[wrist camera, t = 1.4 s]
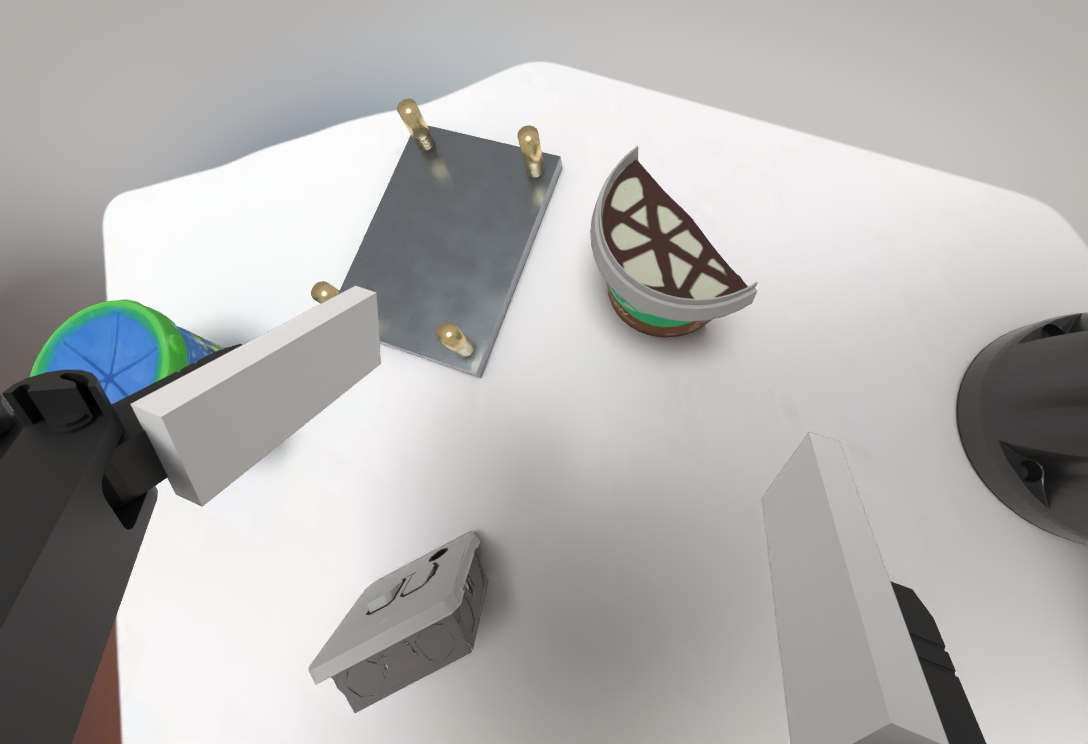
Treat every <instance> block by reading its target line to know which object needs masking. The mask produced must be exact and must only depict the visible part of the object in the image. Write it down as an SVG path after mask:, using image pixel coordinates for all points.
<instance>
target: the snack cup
mask: <svg viewBox="0 0 1088 744" xmlns="http://www.w3.org/2000/svg"><path fill="white" fill-rule="evenodd" d="M221 349H223V348H221V347H219V346H217V345H215V344H213V343H211V342H209V341H207V340H205V339H203V338H201V337H199V336H197V335H195V334H193V333H191V332H189V331H187V330H185V329H183V328H180V327H178V326H176V325H175V323H174V322H173V321H171V320H170V319H169V318H168V317H166V316H165V315H163V314H162V313H160V312H158V311H156V310H154V309H152V308H149V307H146V306H143V305H142V304H140V303H138V302H136V301H132V300H118V301H107V302H102V303H98V304H95V305H92V306H90V307H88V308H85V309H83V310H81V311H80V312H78V313H76V314H75V315H73V316H72V317H71V318H69V319H68V320H67V321H66V322H64V323H63V324H62V325H61V326H60V327H59V328H58V329H57V330H56V331H55V332H54V333H53V335H52V336H51V337H50V339H49V340H48V341H47V343H46V344H45V345H44V347H43V348H42V350H41V352H40V353H39V355H38V357H37V360H36V361H35V364H34V366H33V369H32V372H31V375H30V377H32V376H35V375H39V374H42V373H46V372H51V371H58V370H65V369H67V370H84V371H87V372H91V373H93V374H94V375H95V376H96V377H97V379H98V380H99V382H100V384H101V386H102V388H103V390H104V392H105V393H106V395H107V397H108V399H109V401H110V403H111V404H113V403H115V402H117V401H119V400H121V399H123V398H125V397H127V396H129V395H131V394H133V393H135V392H137V391H139V390H141V389H143V388H145V387H147V386H149V385H151V384H153V383H155V382H157V381H159V380H161V379H162V378H164V377H166V376H168V375H170V374H172V373H174V372H180V370H181V369H182V368H184V367H186V366H188V365H190V364H192V363H194V364H196V363H197V361H198V360H200V359H202V358H204V357H206V356H208V355H210V354H212V353H213V352H215V351H218V350H221Z"/></svg>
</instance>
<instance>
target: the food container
mask: <svg viewBox="0 0 1088 744" xmlns="http://www.w3.org/2000/svg"><path fill="white" fill-rule="evenodd" d="M590 232H591V246H592V250H593V254H594V258H595V261H596V263H597V265H598V268H599V270H600V272H601V273H602V275H603V276H604V278H605V279H606V281H607V288H608V295H609V298H610V300H611V303H612V306H613V308H614V309H615V311H616V313H617V314H618V315H619V316H620V318H621V319H622V320H623V321H624V322H625V323H627V324H628V325H629V326H631V327H632V328H634V329H636V330H637V331H639V332H642V333H645V334H647V335H652V336H657V337H675V336H680V335H685V334H688V333H690V332H693V331H695V330H697V329H699V328H701V327H702V326H704V325H706V324H707V323H708V322H710V321H711V320H712V319H715V318H719V317H724V316H726V315H729V314H731V313H734V312H737V311H739V310H741V309H743V308H744V307H746V306H748V305H750V304H751V303H752V302H753V300H754V297H755V295H756V292H757V290H756V289H755V287H756V285H757V284H758V282H756V283H754V284H752V285H750V286H749V287H748V286H747V285H746V284H745V283H744V282H743V280H742V278H741V277H740V276H739V275H737V274H736V273H735V272H734V271H733V270H732V269H731V268H730V267H729V265H728V264H727V263H726V262H725V261H724V259H723V258H722V257H721V256H720V255H719V254H718V252H717V251H716V250H715V248H714V247H713V246H712V245H711V243H710V242H709V241H708V239H707V238H706V237H705V235H704V234H703V232H702V231H701V230H700V228H699V227H698V226H697V225H696V223H695V222H694V221H693V219H692V218H691V217H690V216H689V215H688V214H687V213H686V212H685V211H684V210H683V209H682V208H681V207H680V206H679V205H678V204H677V203H676V202H675V201H674V200H673V199H672V198H671V197H670V196H669V195H668V194H667V193H666V192H665V191H664V190H663V189H662V188H661V187H660V186H659V185H658V183H657V182H656V181H655V180H654V179H653V178H652V177H651V175H650V174H649V173H648V172H647V171H646V170H645V169H644V167H643V166H642V165H641V164H640V163H639V162H638V146H637V147H636V148H634V149H633V150H632V151H630V152H629V153H628V154H627V155H626V156H625V157H624V158H623V159H622V160H621V161H620V162H619V163H618V164H617V166H616V167H615V168H614V169H613V171H612V172H611V174H610V175H609V177H608V178H607V179H606V181H605V183H604V185H603V187H602V189H601V191H600V194H599V197H598V200H597V202H596V205H595V209H594V212H593V216H592V222H591V231H590Z"/></svg>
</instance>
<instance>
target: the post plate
mask: <svg viewBox="0 0 1088 744" xmlns="http://www.w3.org/2000/svg"><path fill="white" fill-rule="evenodd" d="M397 111H398V113H399V114H400V116H401V118H402V120H403V122H404V123H405V125H406V127H407V129H408V130H409V132H410V134H411V136H410V138H409V140H408V142H407V145H406V147H405V149H404V151H403V153H402V155H401V158H400V160H399V162H398V164H397V166H396V169H395V171H394V173H393V175H392V177H391V180H390V182H389V184H388V186H387V188H386V190H385V193H384V195H383V197H382V199H381V201H380V204H379V206H378V208H377V210H376V212H375V215H374V217H373V219H372V221H371V223H370V226H369V228H368V230H367V232H366V234H365V236H364V239H363V241H362V243H361V245H360V247H359V250H358V252H357V254H356V256H355V258H354V261H353V263H352V265H351V267H350V269H349V271H348V274H347V276H346V278H345V280H344V282H343V285H342V287H341V289H340V291H339V290H338V289H336V288H335V287H333V286H332V285H330V284H329V283H327V282H324V281H322V282H318V283H317V284H315V285H314V287H313V288H312V291H311V295H312V298H313V299H314V300H316V301H317V302H319V303H321V304H322V303H324V302H326V301H327V300H329V299H331V298H333V297H335V296H337V295H339V294H341V293H343V292H345V291H346V290H348V289H350V288H352V287H354V286H358V287H361V288H364V289H367V290H370V291H373V292H376V295H377V310H378V326H379V341H380V343H381V344H384V345H387V346H390V347H393V348H396V349H399V350H402V351H405V352H408V353H411V354H413V355H416V356H419V357H422V358H425V359H428V360H431V361H434V362H437V363H440V364H442V365H445V366H448V367H451V368H454V369H457V370H460V371H463V372H466V373H469V374H472V375H474V376H477V377H480V378H481V376H482V373H483V370H484V368H485V365H486V363H487V360H488V357H489V355H490V352H491V350H492V347H493V345H494V342H495V339H496V337H497V334H498V332H499V329H500V327H501V324H502V321H503V319H504V316H505V314H506V311H507V308H508V306H509V303H510V301H511V298H512V296H513V293H514V290H515V288H516V285H517V283H518V280H519V278H520V275H521V272H522V270H523V267H524V265H525V262H526V259H527V257H528V254H529V252H530V249H531V247H532V244H533V241H534V239H535V236H536V234H537V231H538V228H539V226H540V223H541V221H542V218H543V216H544V213H545V210H546V208H547V205H548V203H549V200H550V198H551V195H552V192H553V190H554V187H555V185H556V182H557V179H558V177H559V174H560V172H561V169H562V165H561V157H560V156H556V155H552V154H548V153H543V152H542V151H541V146H540V140H539V135H538V131H537V129H536V128H535V127H533V126H524V127H522V128H521V129H520V130H519V132H518V140H519V145H520V147H517V146H513V145H509V144H505V143H500V142H496V141H492V140H487V139H483V138H479V137H475V136H470V135H466V134H462V133H457V132H453V131H449V130H444V129H440V128H436V127H432V126H427V125H426V123H425V121H424V119H423V117H422V115H421V113H420V111H419V109H418V107H417V105H416V103H415V101H414V100H412V99H405V100H402V101H401V102H400V103H399V105H398V107H397Z"/></svg>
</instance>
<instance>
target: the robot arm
mask: <svg viewBox="0 0 1088 744" xmlns="http://www.w3.org/2000/svg"><path fill="white" fill-rule="evenodd" d="M380 364H381V357H380V341H379V326H378V310H377V295H376V292H373V291H370V290H367V289H364V288H361V287H358V286H354V287H352V288H350V289H348V290H346V291H345V292H343V293H341V294H339V295H337V296H335V297H333V298H331V299H329V300H327V301H326V302H324V303H322V304H320V305H318V306H316V307H314V308H312V309H310V310H308V311H307V312H305V313H303V314H301V315H299V316H297V317H295V318H293V319H291V320H289V321H288V322H286V323H284V324H282V325H280V326H278V327H276V328H274V329H272V330H270V331H268V332H267V333H265V334H263V335H261V336H259V337H257V338H255V339H253V340H251V341H249V342H248V343H246V344H244V345H242V344H239V345H236V346H232V347H228V348H225V349H221V350H218V351H215V352H213V353H212V354H210V355H208V356H206V357H204V358H202V359H200V360H198V361H197V363H196V364H194V363H192V364H190V365H188V366H186V367H184V368H182V369H181V370H180V372H174V373H172V374H170V375H168V376H166V377H164V378H162V379H161V380H159V381H157V382H155V383H153V384H151V385H149V386H147V387H145V388H143V389H141V390H139V391H137V392H135V393H133V394H131V395H129V396H127V397H125V398H123V399H121V400H119V401H117V402H115V403H113V404H111V403H110V401H109V399H108V397H107V395H106V393H105V392H104V390H103V388H102V386H101V384H100V382H99V380H98V379H97V377H96V376H95V375H94V374H93V373H91V372H87V371H84V370H67V369H65V370H58V371H51V372H46V373H42V374H39V375H35V376H32V377H29V378H27V379H24V380H22V381H21V382H18V383H16V384H14V385H12V386H11V387H10V388H8V389H7V390H6V391H5V392H3V393H2V394H3V396H4V397H5V398H6V400H7V401H8V402H9V404H10V405H11V407H12V408H13V410H14V411H12V410H11V409H10V407H9V406H8V404H7V403H6V402H5V400H4V399H3V397H2V396H0V744H72V741H73V738H74V735H75V732H76V729H77V727H78V724H79V721H80V718H81V715H82V712H83V709H84V707H85V703H86V701H87V698H88V695H89V692H90V689H91V686H92V684H93V681H94V678H95V675H96V672H97V669H98V666H99V664H100V661H101V658H102V655H103V652H104V649H105V646H106V644H107V641H108V638H109V635H110V632H111V629H112V626H113V624H114V621H115V618H116V615H117V612H118V609H119V606H120V604H121V601H122V598H123V595H124V592H125V589H126V586H127V584H128V581H129V578H130V575H131V572H132V569H133V566H134V564H135V561H136V558H137V555H138V552H139V549H140V546H141V544H142V541H143V538H144V535H145V532H146V529H147V526H148V523H149V521H150V518H151V515H152V512H153V509H154V506H155V503H156V501H157V494H158V490H157V488H156V485H157V484H158V483H160V482H161V481H163V480H164V479H166V478H168V480H169V482H170V484H171V486H172V488H173V490H174V492H175V494H176V495H178V496H180V497H183V498H185V499H187V500H189V501H191V502H194V503H196V504H198V505H200V506H204V505H205V504H206V503H207V502H209V501H210V500H211V499H212V498H214V497H215V496H216V495H217V494H219V493H220V492H221V491H222V490H224V489H225V488H226V487H227V486H229V485H230V484H231V483H232V482H234V481H235V480H236V479H237V478H239V477H240V476H241V475H242V474H244V473H245V472H246V471H247V470H249V469H250V468H251V467H252V466H254V465H255V464H256V463H257V462H259V461H260V460H261V459H262V458H264V457H265V456H266V455H267V454H269V453H270V452H271V451H272V450H274V449H275V448H276V447H277V446H279V445H280V444H281V443H282V442H284V441H285V440H286V439H287V438H289V437H290V436H291V435H292V434H294V433H295V432H296V431H297V430H299V429H300V428H301V427H302V426H304V425H305V424H306V423H307V422H309V421H310V420H311V419H312V418H314V417H315V416H316V415H317V414H319V413H320V412H321V411H322V410H324V409H325V408H326V407H327V406H329V405H330V404H331V403H332V402H334V401H335V400H336V399H337V398H339V397H340V396H341V395H342V394H344V393H345V392H346V391H347V390H349V389H350V388H351V387H352V386H354V385H355V384H356V383H357V382H359V381H360V380H361V379H362V378H364V377H365V376H366V375H367V374H369V373H370V372H371V371H372V370H374V369H375V368H376V367H377V366H379V365H380ZM958 421H959V428H960V433H961V437H962V441H963V443H964V446H965V449H966V451H967V454H968V456H969V458H970V460H971V462H972V464H973V466H974V467H975V469H976V471H977V472H978V474H979V475H980V477H981V478H982V479H983V481H984V482H985V483H986V484H987V486H988V487H989V488H990V489H991V490H992V491H993V493H994V494H995V495H996V496H997V497H998V498H999V499H1000V500H1001V501H1002V502H1003V503H1005V504H1006V505H1007V506H1008V507H1009V508H1011V509H1012V510H1013V511H1014V512H1016V513H1017V514H1018V515H1020V516H1021V517H1023V518H1024V519H1026V520H1027V521H1029V522H1031V523H1032V524H1034V525H1036V526H1038V527H1040V528H1042V529H1043V530H1045V531H1048V532H1050V533H1052V534H1055V535H1057V536H1060V537H1062V538H1065V539H1068V540H1072V541H1075V542H1079V543H1083V544H1088V313H1077V314H1070V315H1064V316H1059V317H1055V318H1051V319H1048V320H1044V321H1041V322H1038V323H1035V324H1032V325H1029V326H1026V327H1022V328H1019V329H1017V330H1014V331H1012V332H1009V333H1007V334H1005V335H1003V336H1002V337H1000V338H998V339H997V340H995V341H994V342H992V343H991V344H990V345H988V346H987V347H986V348H985V349H984V350H983V351H982V352H981V353H980V354H979V355H978V356H977V357H976V359H975V360H974V361H973V363H972V364H971V366H970V367H969V369H968V371H967V373H966V375H965V377H964V380H963V383H962V385H961V389H960V393H959V400H958ZM762 504H763V512H764V521H765V529H766V538H767V546H768V555H769V563H770V572H771V580H772V589H773V597H774V606H775V614H776V623H777V631H778V640H779V648H780V657H781V665H782V674H783V682H784V691H785V699H786V708H787V716H788V725H789V733H790V742H791V744H986V742H985V740H984V737H983V735H982V732H981V730H980V728H979V725H978V723H977V721H976V718H975V716H974V713H973V711H972V709H971V706H970V704H969V702H968V699H967V697H966V694H965V692H964V690H963V687H962V685H961V682H960V680H959V678H958V677H956V676H955V668H954V666H953V663H952V661H951V659H950V656H949V654H948V652H945V650H944V649H945V644H944V642H943V640H942V637H941V635H940V632H939V630H938V628H937V625H936V623H935V621H934V618H933V617H932V615H931V614H930V613H929V611H928V610H927V609H926V607H925V606H924V605H923V603H922V602H921V601H920V599H919V598H918V597H917V595H916V594H915V593H914V591H913V590H912V589H910V588H907V587H904V586H901V585H899V584H896V583H893V582H891V581H890V580H889V577H888V574H887V571H886V569H885V566H884V563H883V560H882V558H881V555H880V552H879V549H878V547H877V544H876V541H875V538H874V536H873V533H872V530H871V527H870V524H869V522H868V519H867V516H866V513H865V511H864V508H863V505H862V502H861V500H860V497H859V494H858V491H857V489H856V486H855V483H854V480H853V478H852V475H851V472H850V469H849V466H848V464H847V461H846V458H845V455H844V453H843V450H842V447H841V444H840V442H839V441H836V440H833V439H830V438H827V437H824V436H821V435H817V434H814V433H811V432H808V434H807V435H806V437H805V438H804V440H803V441H802V442H801V444H800V445H799V447H798V448H797V449H796V451H795V452H794V454H793V455H792V456H791V458H790V459H789V461H788V462H787V464H786V465H785V466H784V468H783V469H782V471H781V472H780V473H779V475H778V476H777V478H776V479H775V480H774V482H773V483H772V485H771V486H770V488H769V489H768V490H767V492H766V493H765V495H764V496H763V497H762Z"/></svg>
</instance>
